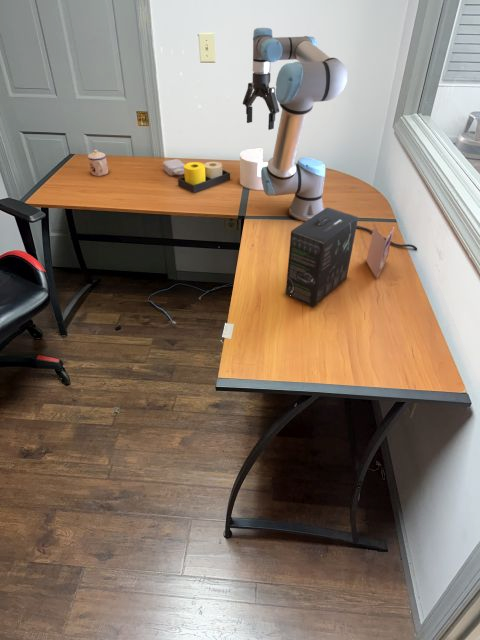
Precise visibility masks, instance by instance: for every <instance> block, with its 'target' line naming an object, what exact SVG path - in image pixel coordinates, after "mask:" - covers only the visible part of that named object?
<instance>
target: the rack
mask: <svg viewBox="0 0 480 640" xmlns="http://www.w3.org/2000/svg"><path fill="white" fill-rule="evenodd" d="M205 178H206V181H205V182H202V183H199V184H196V185H191V184H189V183H187V182H185V175H184V176H182V177H179V178H177V184H178V185H177V186H178V187H180V188H182V189H184V190H186V191H188V192H190V193H192V194H195V193H199V192H202V191H204V190H206V189H209V188H212V187H214V186H215V187H216V186H218V185H220V184H223V183H226V182H228V181H231V172H229V171H227V170H223V169H222V176H219V177H216V178H213V179H211V178H209V177H207V176H205Z"/></svg>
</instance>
